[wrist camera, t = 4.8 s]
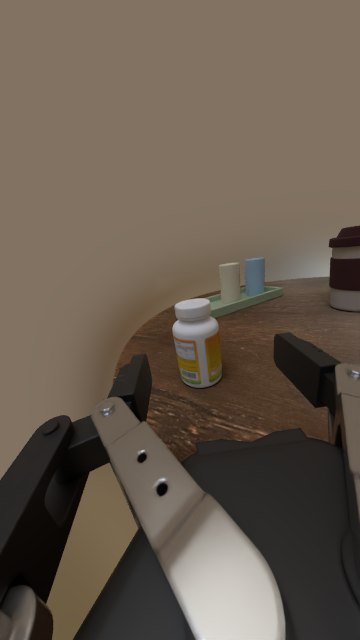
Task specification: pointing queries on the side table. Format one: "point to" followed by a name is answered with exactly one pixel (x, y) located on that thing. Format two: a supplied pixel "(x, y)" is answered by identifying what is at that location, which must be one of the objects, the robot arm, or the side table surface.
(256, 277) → the blue cylinder
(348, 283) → the coffee cup
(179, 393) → the side table surface
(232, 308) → the tray
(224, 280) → the beige upright cylinder
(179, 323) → the supplement bottle
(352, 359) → the side table surface
